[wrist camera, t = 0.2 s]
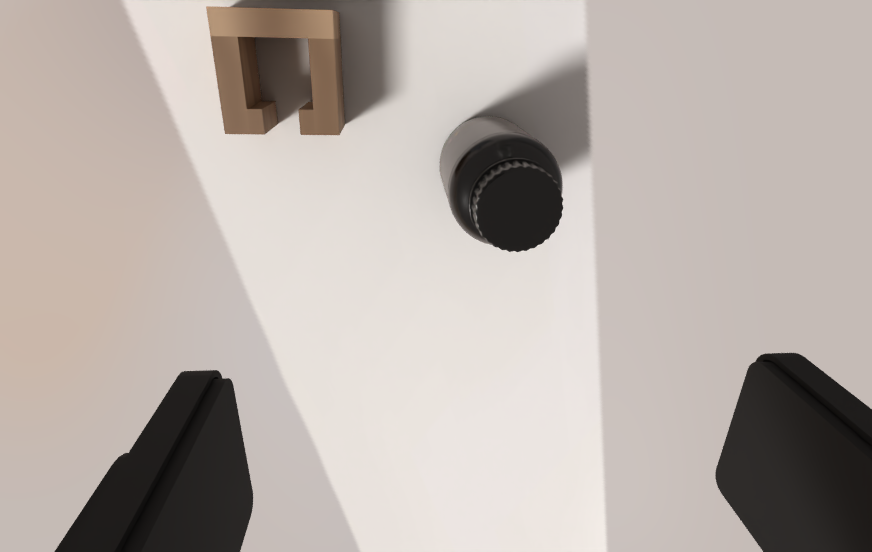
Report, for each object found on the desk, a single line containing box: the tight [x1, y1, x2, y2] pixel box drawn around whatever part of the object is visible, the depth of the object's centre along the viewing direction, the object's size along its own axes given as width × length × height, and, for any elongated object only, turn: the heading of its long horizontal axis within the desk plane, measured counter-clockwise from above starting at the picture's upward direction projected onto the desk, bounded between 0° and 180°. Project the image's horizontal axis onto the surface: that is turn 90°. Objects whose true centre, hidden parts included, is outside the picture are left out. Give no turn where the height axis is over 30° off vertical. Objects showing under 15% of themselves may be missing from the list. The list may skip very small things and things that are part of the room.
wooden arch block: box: [206, 7, 345, 135], centre depth 33 cm, size 7×7×4 cm
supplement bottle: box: [440, 116, 563, 252], centre depth 33 cm, size 7×7×12 cm
